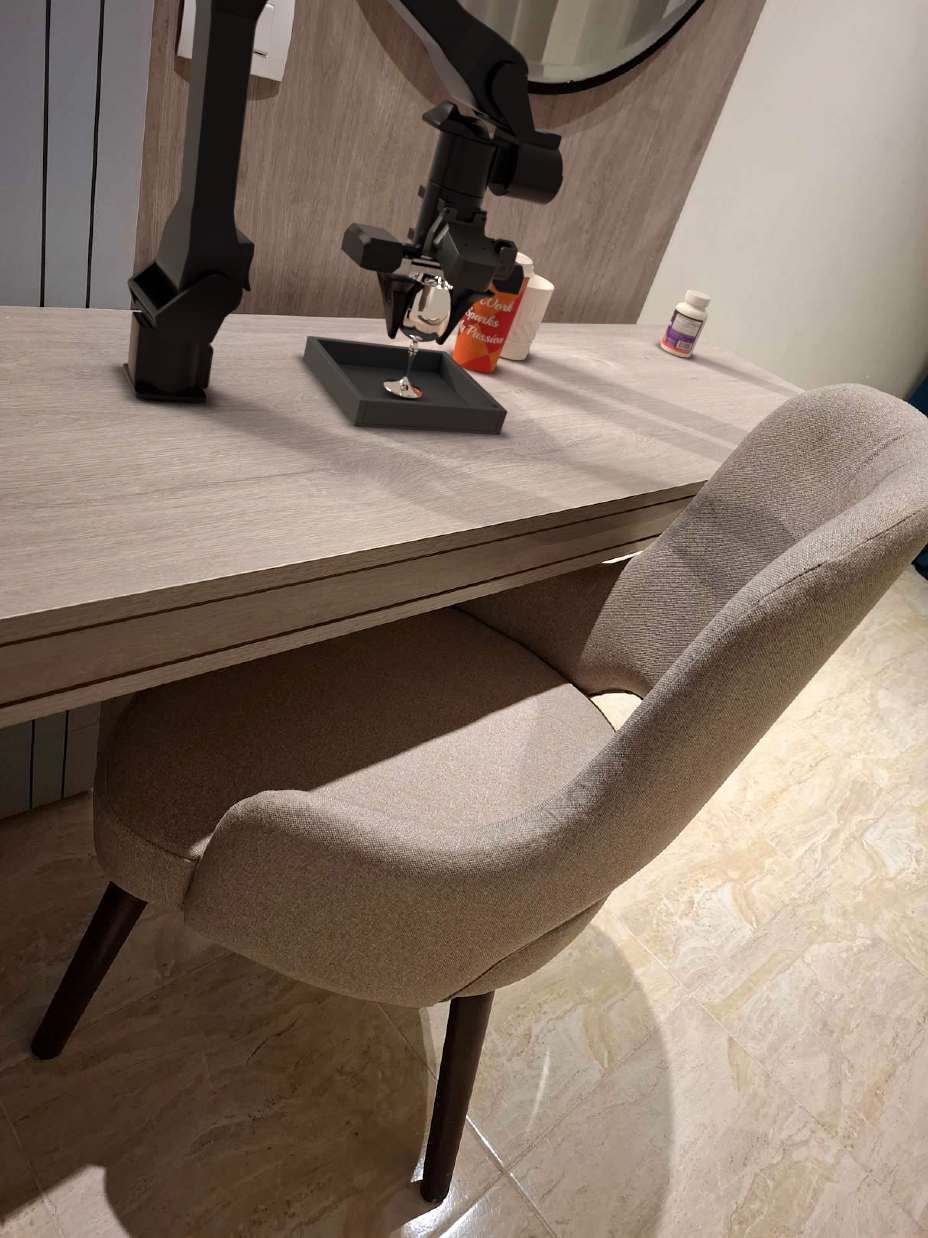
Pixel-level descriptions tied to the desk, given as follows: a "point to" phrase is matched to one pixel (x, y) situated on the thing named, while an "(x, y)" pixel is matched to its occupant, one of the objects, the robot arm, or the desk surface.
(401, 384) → the wineglass
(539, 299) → the white cup
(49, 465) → the desk surface
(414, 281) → the robot arm
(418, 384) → the tray
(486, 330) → the paper cup
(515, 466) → the desk surface
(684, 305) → the pill bottle
